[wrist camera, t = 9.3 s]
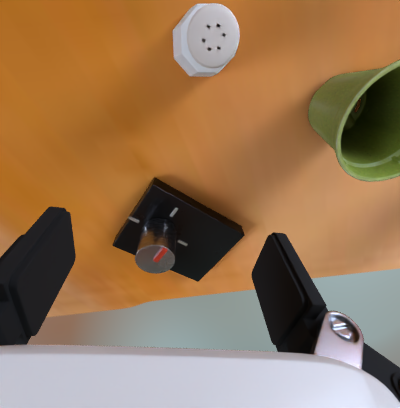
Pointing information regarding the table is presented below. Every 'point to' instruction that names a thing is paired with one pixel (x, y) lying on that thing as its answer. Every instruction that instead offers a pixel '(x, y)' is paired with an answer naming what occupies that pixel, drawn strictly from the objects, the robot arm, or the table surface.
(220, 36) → the pepper shaker
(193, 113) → the table surface
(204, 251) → the black knob panel
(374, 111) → the plant pot
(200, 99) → the table surface
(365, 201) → the table surface
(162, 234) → the hob knob
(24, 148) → the table surface
